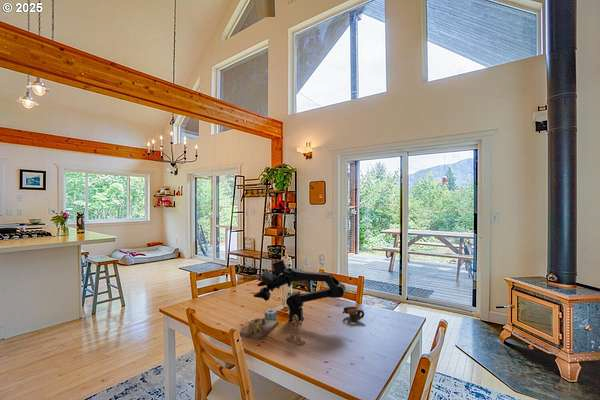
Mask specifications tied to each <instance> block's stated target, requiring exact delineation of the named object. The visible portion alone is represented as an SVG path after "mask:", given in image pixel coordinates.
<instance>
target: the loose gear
mask: <svg viewBox="0 0 600 400" xmlns="http://www.w3.org/2000/svg"><path fill="white" fill-rule="evenodd" d="M277 315H278V311H277V309H276V310H275V309H273V308H272V309H270V308H269V309H267V310H264V318H265V319H267V320H273V321H277V318H278V317H277Z"/></svg>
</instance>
